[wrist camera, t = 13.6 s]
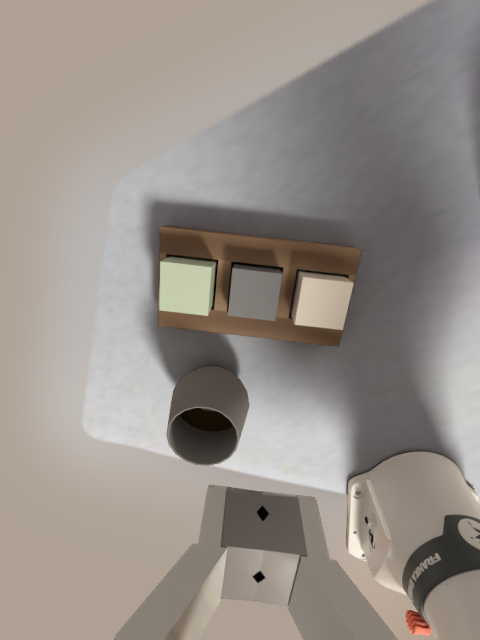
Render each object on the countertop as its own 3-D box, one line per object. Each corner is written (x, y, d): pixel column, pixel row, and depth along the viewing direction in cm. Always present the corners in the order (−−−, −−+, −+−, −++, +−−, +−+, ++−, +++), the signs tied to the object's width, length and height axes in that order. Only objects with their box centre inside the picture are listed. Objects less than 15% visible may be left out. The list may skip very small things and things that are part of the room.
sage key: (213, 303, 35) (207, 315, 31) (170, 298, 35) (159, 310, 31) (216, 260, 34) (211, 267, 29) (171, 255, 34) (160, 261, 29)
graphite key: (272, 308, 36) (275, 321, 32) (230, 304, 36) (227, 315, 32) (278, 266, 34) (282, 274, 30) (234, 261, 34) (232, 268, 30)
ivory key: (332, 316, 36) (342, 330, 31) (289, 311, 36) (294, 324, 31) (341, 274, 34) (353, 282, 30) (297, 269, 34) (303, 277, 30)
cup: (173, 357, 40) (148, 402, 30) (244, 350, 39) (241, 393, 30) (186, 418, 43) (168, 475, 33) (252, 412, 42) (252, 469, 33)
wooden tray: (332, 336, 38) (338, 346, 35) (165, 317, 38) (158, 325, 35) (352, 247, 34) (361, 249, 31) (167, 225, 34) (160, 226, 31)
